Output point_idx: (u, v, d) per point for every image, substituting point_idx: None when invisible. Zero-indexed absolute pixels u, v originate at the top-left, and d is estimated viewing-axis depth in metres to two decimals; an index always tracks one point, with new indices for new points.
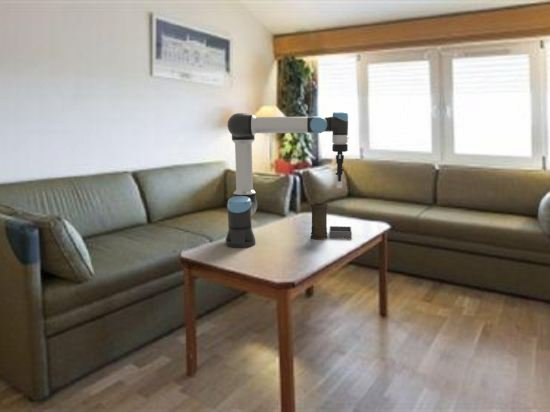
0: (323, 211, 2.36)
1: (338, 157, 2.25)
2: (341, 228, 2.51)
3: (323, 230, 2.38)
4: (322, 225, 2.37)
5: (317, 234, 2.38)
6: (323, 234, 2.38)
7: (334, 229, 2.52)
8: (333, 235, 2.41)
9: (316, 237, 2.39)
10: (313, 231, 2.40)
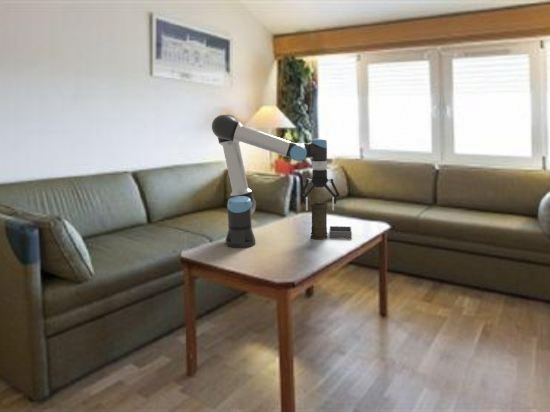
0: (323, 211, 2.36)
1: None
2: (341, 228, 2.51)
3: (323, 230, 2.38)
4: (322, 225, 2.37)
5: (317, 234, 2.38)
6: (323, 234, 2.38)
7: (334, 229, 2.52)
8: (333, 235, 2.41)
9: (316, 237, 2.39)
10: (313, 231, 2.40)
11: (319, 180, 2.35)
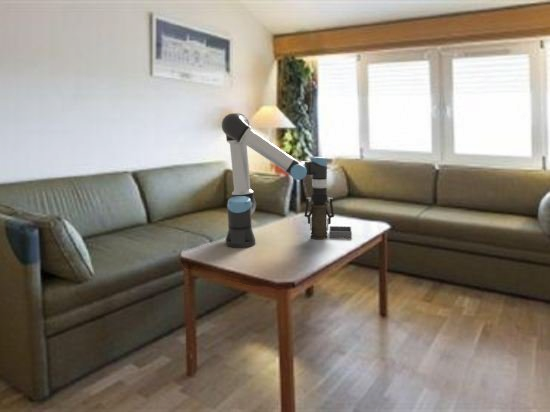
0: (323, 211, 2.36)
1: None
2: (341, 228, 2.51)
3: (323, 230, 2.38)
4: (322, 225, 2.37)
5: (317, 234, 2.38)
6: (323, 234, 2.38)
7: (334, 229, 2.52)
8: (333, 235, 2.41)
9: (316, 237, 2.39)
10: (313, 231, 2.40)
11: (319, 196, 2.37)
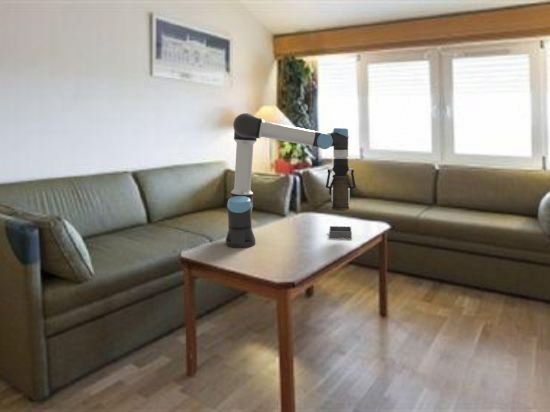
0: (345, 182, 2.38)
1: None
2: (341, 228, 2.51)
3: (345, 201, 2.39)
4: (344, 196, 2.39)
5: (339, 205, 2.39)
6: (345, 205, 2.39)
7: (334, 229, 2.52)
8: (333, 235, 2.41)
9: (338, 208, 2.40)
10: (335, 202, 2.41)
11: (340, 167, 2.38)
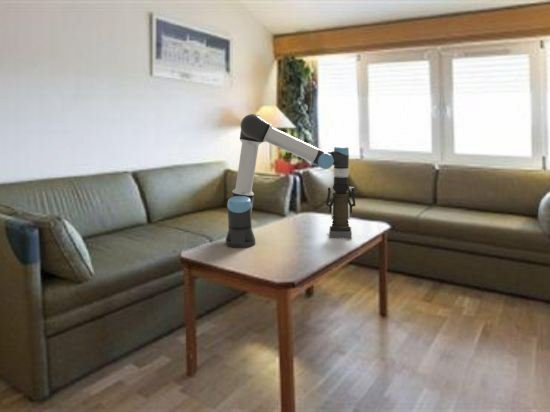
0: (345, 200, 2.40)
1: None
2: (341, 228, 2.51)
3: (345, 219, 2.41)
4: (344, 214, 2.41)
5: (339, 223, 2.42)
6: (345, 223, 2.42)
7: (334, 229, 2.52)
8: (333, 235, 2.41)
9: (338, 226, 2.42)
10: (335, 220, 2.43)
11: (341, 185, 2.41)
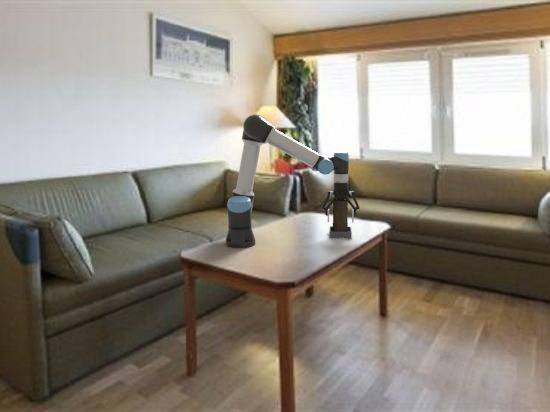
0: (344, 207, 2.41)
1: None
2: None
3: (344, 226, 2.42)
4: (344, 221, 2.42)
5: (338, 230, 2.42)
6: (344, 230, 2.42)
7: None
8: (333, 235, 2.41)
9: None
10: (334, 227, 2.44)
11: (340, 192, 2.41)
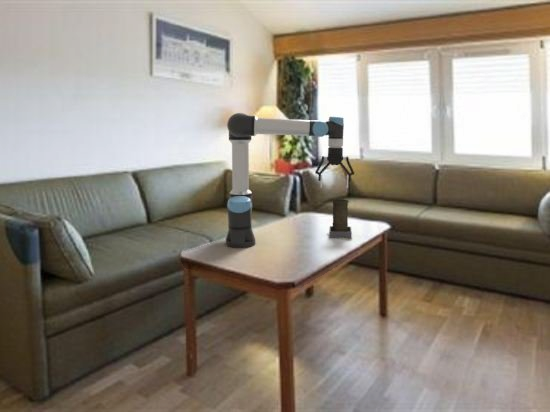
0: (344, 207, 2.41)
1: None
2: None
3: (344, 226, 2.42)
4: (344, 221, 2.42)
5: (338, 230, 2.42)
6: (344, 230, 2.42)
7: None
8: (333, 235, 2.41)
9: None
10: (334, 227, 2.44)
11: (334, 158, 2.38)
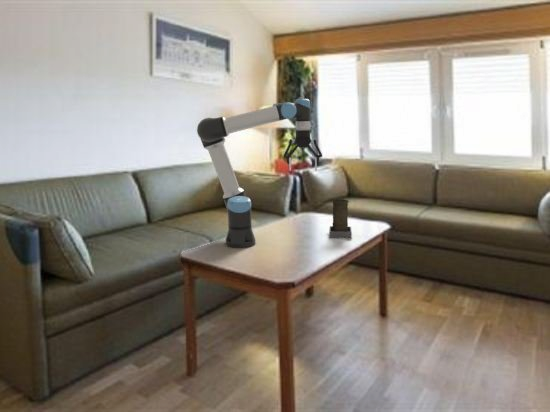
0: (344, 207, 2.41)
1: None
2: None
3: (344, 226, 2.42)
4: (344, 221, 2.42)
5: (338, 230, 2.42)
6: (344, 230, 2.42)
7: None
8: (333, 235, 2.41)
9: None
10: (334, 227, 2.44)
11: (302, 140, 2.40)
